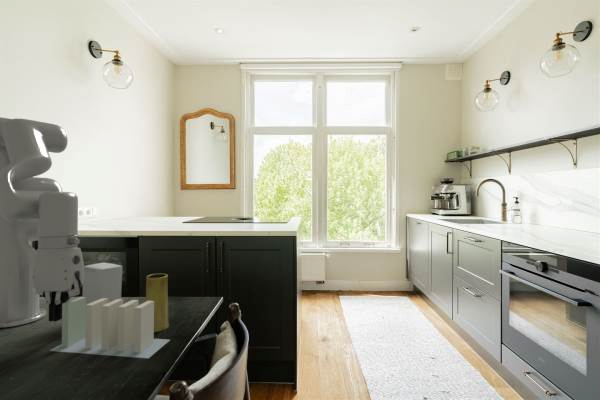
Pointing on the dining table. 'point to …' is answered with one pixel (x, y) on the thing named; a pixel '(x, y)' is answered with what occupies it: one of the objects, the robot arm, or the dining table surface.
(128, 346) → the tile
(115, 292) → the skincare box
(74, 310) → the sage green rectangular block
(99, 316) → the tile
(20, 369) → the dining table surface
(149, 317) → the tile
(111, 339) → the tile
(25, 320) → the robot arm
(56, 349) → the runner mat
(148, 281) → the vase
